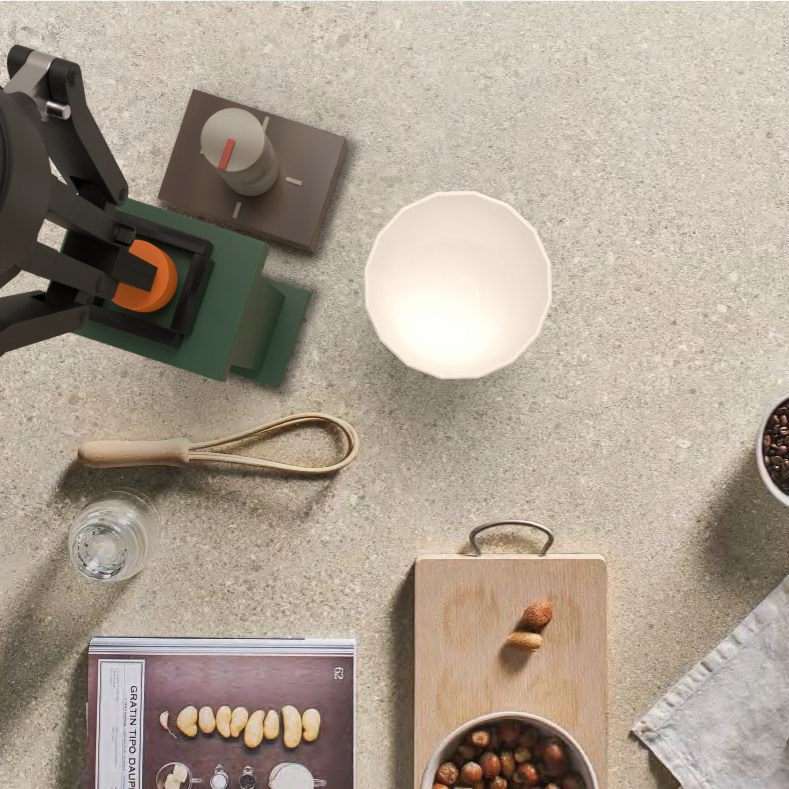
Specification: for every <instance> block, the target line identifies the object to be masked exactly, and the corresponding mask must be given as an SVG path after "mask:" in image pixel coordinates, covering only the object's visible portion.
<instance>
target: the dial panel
mask: <svg viewBox="0 0 789 789" xmlns="http://www.w3.org/2000/svg"><path fill="white" fill-rule="evenodd" d="M227 108H238V109H243V110H245V111H247V112H249V113H251V114H252V115H253V116H255V117H256V118H257V120H258V121H259V122H260V124H261V126H262V128H263V129H264V131H265V133H266V135H267V137H268V139H269V141H270V142H271V144H272V146H273V148H274V150H275V152H276V154H277V156H278V158H279V163H280V171H279V176H278V178H277V181H276V182H275V184H274V185H273V186H272V187H271V188H270V189H269V190H268V191H267V192H265V193H263V194H260V195H257V196H245V195H241V194H239V193H237V192H235V191H234V190H232V189H231V188H230V187H229V185H228V184H227V183H226V182H225V181H224V179H223V178H222V177H221V176H220V175H219V173H218V172H217V171H216V170H215V169H214V167H213V166H212V165H211V164H210V163H209V161H208V160H207V159H206V157H205V156H204V154H203V151H202V148H201V133H202V129H203V127H204V125H205V123H206V122H207V120H208V119H209V118H210V117H211V116H212V115H214V114H215V113H217V112H218V111H221V110H223V109H227ZM178 130H179V131H178V133H177V136H176V140H175V142H174V146H173V148H172V152H171V155H170V157H169V160H168V164H167V167H166V170H165V173H164V176H163V178H162V183H161V185H160V187H159V191H158V194H157V199H158V200H159V201H160V202H161V203H163V204H164V205H166V206H167V207H170V208H172V209H176V210H179V211H182V212H185V213H188V214H191V215H195V216H198V217H201V218H204V219H207V220H210V221H213V222H216V223H219V224H222V225H225V226H229V227H231V228H235V229H237V230H241V231H243V232H247V233H250V234H252V235H256V236H259V237H263V238H265V239H268V240H272V241H274V242H277V243H280V244H284V245H287V246H289V247H293V248H296V249H298V250H302V251H306V252H308V253H311V254H314V253H315V251H316V247H317V245H318V242H319V239H320V235H321V233H322V229H323V226H324V224H325V221H326V217H327V214H328V212H329V208H330V205H331V202H332V199H333V197H334V193H335V191H336V190H335V189H336V187H337V184H338V181H339V178H340V174H341V172H342V168H343V166H344V162H345V159H346V156H347V154H348V151H349V146H348V141H347V138H346V137H344V136H343V135H339V134H336V133H332V132H329V131H327V130H323V129H320V128H317V127H313V126H311V125H307V124H305V123H301V122H298V121H295V120H292V119H289V118H285V117H284V116H283V117H282V116H279V115H276V114H273V113H270V112H268V111H264V110H261V109H258V108H255V107H251V106H248V105H245V104H242V103H240V102H237V101H233V100H230V99H226V98H223V97H220V96H217V95H214V94H211V93H208V92H204V91H202V90H199V89H195V88H193V89H192V91H191V93H190V97H189V100H188V102H187V106H186V109H185V111H184V115H183V118H182V121H181V124H180V127H179V129H178Z"/></svg>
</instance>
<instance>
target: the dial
mask: <svg viewBox="0 0 789 789" xmlns="http://www.w3.org/2000/svg"><path fill="white" fill-rule="evenodd" d="M201 148H202V151H203V154H204V156H205V157H206V159H207V160H208V161H209V163H210V164H211V165H212V166H213V167H214V169H215V170H216V171H217V172H218V173H219V175H220V176H221V177H222V178H223V179H224V181H225V182H226V183H227V184H228V185H229V187H230V188H231V189H232V190H234V191H235V192H237V193H239V194H241V195H245V196H257V195H260V194H263V193H265V192H267V191H268V190H269V189H270V188H271V187H272V186H273V185H274V184H275V182H276V181H277V178H278V176H279V171H280V163H279V158H278V156H277V154H276V152H275V150H274V148H273V146H272V144H271V142H270V141H269V139H268V137H267V135H266V133H265V131H264V129H263V128H262V126H261V124H260V122H259V121H258V120H257V118H256V117H255V116H253V115H252V114H251V113H249V112H247V111H245V110H243V109H238V108H227V109H223V110H221V111H218V112H217V113H215V114H214V115H212V116H211V117H210V118H209V119H208V120H207V122H206V123H205V125H204V127H203V129H202V133H201Z"/></svg>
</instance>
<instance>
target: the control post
mask: <svg viewBox="0 0 789 789" xmlns="http://www.w3.org/2000/svg"><path fill="white" fill-rule="evenodd" d="M115 218H116V219H117V220H119V221H121V222H124V223H127V224H130V225H133V226H135V227H136V236H135V240H142V241H146V242H148V243H150V244H152V245H154V246H155V247H157V248H159V249H160V250H162V251H163V252H165V253H166V254H167V255H168V256H169V257H170V258H171V259H172V261H173V263H174V265H175V267H176V270H177V275H178V282H177V287H176V291H175V293H174V295H173V297H172V298H171V299H170V301H169V302H168V303H167V304H166V305H164V306H163V307H161V308H160V309H157V310H155V311H152V312H137V311H134V310H131V309H128V308H125V307H122V306H120V305H118V304H116V303H115V302H113V301H112V300H108V299H104V298H101V297H98V296H95V295H90V296H89V297H88V299H87V300H86V302H85V305H88V307H89V319H88V321H87V323H86V324H85V326H84V327H83V328H81V329H79V330H76V331H73V332H70V333H69V334H73V335H76V336H79V337H82V338H86V339H88V340H92V341H95V342H98V343H100V344H102V345H103V344H104V345H107V346H110V347H113V348H115V349H119V350H122V351H124V352H128V353H131V354H134V355H137V356H140V357H144V358H146V359H149V360H152V361H155V362H158V363H161V364H164V365H167V366H171V367H173V368H175V369H176V368H177V369H180V370H182V371H186V372H189V373H192V374H195V375H197V376H201V377H204V378H207V379H210V380H213V381H216V382H220V383H226V382H227V380H228V377H229V374H232V375H235V376H238V377H242V378H243V379H248V380H251V381H254V382H257V383H259V384H262V385H265V386H269V387H271V388H275V389H278V390H281V389H282V386H283V385H284V381H285V377H286V375H287V371H288V369H289V365H290V364H291V363H290V362H291V359H292V356H293V353H294V350H295V347H296V344H297V341H298V338H299V335H300V333H301V332H300V331H301V329H302V327H303V323H304V319H305V318H306V317H305V316H306V314H307V311H308V307H309V304H310V301H311V298H312V295H313V294H312V292H311V291H309V290H305V289H302V288H299V287H297V286H293V285H290V284H286V283H284V282H281V281H277V280H275V279H271V278H268V277H265V276H263V275H262V274H263V271H264V268H265V264H266V261H267V259H268V256H269V252H270V250H271V247H270V245H269V244H268V243H267V242H266V241H263V240H260V239H256V238H253V237H251V236H247V235H244V234H241V233H238V232H235V231H232V230H229V229H226V228H222V227H219V226H218V225H213V224H210V223H207V222H204V221H201V220H198V219H196V218H195V219H194V218H192V217H188V216H185V215H182V214H179V213H177V212H173V211H170V210H167V209H164V208H161V207H159V206H156V205H152V204H148V203H146V202H142V201H140V200H136V199H134V198H130V197H128V198H127V199H126V201H125V203H124V204H123V206H121V207H119V206H115ZM68 231H69V230H66V231H65V234H64V237H63V240H62V243H61V246H60V249H59V252H60V253H62V250H63V247H64V244H65V240H66V237H67V234H68ZM51 282H52V281H51V280H49V282H48V285H47V289H46V291H45V292H47V290H48V288H49V286H50V284H51Z"/></svg>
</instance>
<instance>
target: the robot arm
mask: <svg viewBox="0 0 789 789" xmlns="http://www.w3.org/2000/svg"><path fill="white" fill-rule="evenodd" d="M6 70H7V74H8V77H9V78H8V79H9V80H8V82H7V83H6V84H5V85H4V87H3V86H2V85H0V290H1V289H2V288H3V287H4V286H6V285H7V284H8V283H9V282H11V281H12V280H13V279H15V278H16V277H17V276H18V275H19V274H21V272H22V271H23V272H25V273H28V274H30V275H34V276H36V277H39V278H42V279H45V280H48V281H50V280H51V281H52V282H51V284H50V286H49V288H48V287H47V288H48V290H47V289H46V291H47V292H46V291H45V290H41V289H35V290H31V291H26V292H21V293H15V294H11V295H5V296H0V358H1V357H3V356H4V355H5V354H6V353H9V352H13V351H15V350H18V349H22V348H24V347H29V346H32V345H35V344H38V343H41V342H44V341H47V340H50V339H54V338H57V337H60V336H63V335H66V334H71V333H70V332H73V331H76V330H79V329H81V328H83V327H84V326H85V324H86V323H87V321H88V319H89V307H88V305H85V302H86V300H87V299H88V297H89V296H90V295H95V296H98V297H101V298H104V299H108V300H111V299H113V298H114V297H115V294H116V291H117V288H118V285H119V282H120V283H123V284H126V285H129V286H132V287H135V288H138V289H141V290H144V291H147V292H150V291H151V288H152V285H153V282H154V279H155V276H156V273H157V270H158V267H156V266H154V265H152V264H150V263H149V262H147V261H145V260H143V259H141V258H139V257H138V256H136V255H134V254H132V253H130V252H129V249H130V248H131V246H132V245H133V243H134V240H135V236H136V227H135V226H133V225H130V224H127V223H124V222H121V221H119V220H117V219H116V218H115V206H119V207H121V206H123V204H124V203H125V201H126V199H127V198H129V195H130V194H129V193H130V190H129V183H128V181H127V179H126V177H125V175H124V174H123V171H122V170H121V168H120V166H119V163H118V162H117V161H116V159H115V156H114V154H113V152H112V150H111V148H110V147H109V145H108V143H107V141H106V139H105V136H104V134H103V132H102V131H101V129H100V127H99V125H98V124H97V122H96V119H95V118H94V116H93V114H92V112H91V110H90V108H89V106H88V104H87V98H86V91H85V86H84V79H83V73H82V68H81V66H80V64H78V62H74V61H71V60H68V59H65V58H63V57H59V56H56V55H53V54H49V53H46V52H44V51H39V50H36V49H34V48H30V47H27V46H24V45H22V44H14V45H12V46H11V48H10V49H9V51H8V54H7V57H6ZM50 161H51V162H52V164H53V165H54V167H55V168H56V170H57V172H58V173H59V174H60V176H61V178H62V179H63V181H64V182H63V181H62V180H61V179H59V177H58V176H57V175H55V174H54V173H53V172H52V167H51V162H50ZM45 221H48V222H50V223H52V224H54V225H56V226H58V227H60V228H62V229H64V230H66V231H67V230H69V231H68V234H67V237H66V240H65V244H64V247H63V250H62V253H60V251H59V250H58V249H56V248H53V247H52V246H50V245H47V244H45V243H42V242H40V241H38V239H39V234H40V231H41V229H42V227H43V225H44V222H45Z"/></svg>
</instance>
